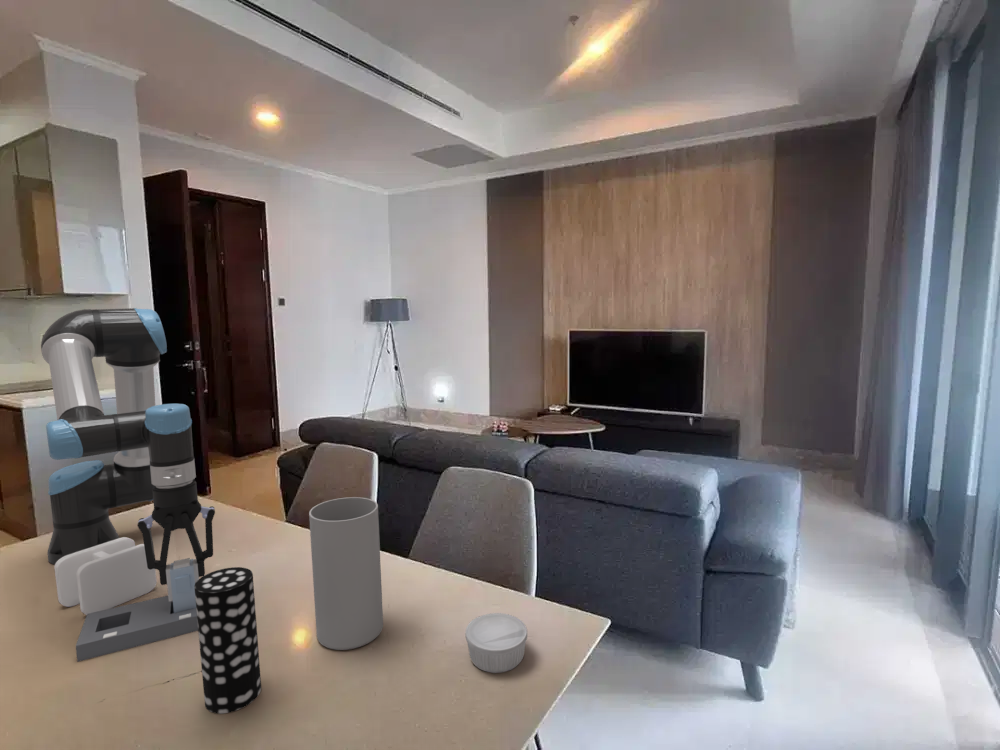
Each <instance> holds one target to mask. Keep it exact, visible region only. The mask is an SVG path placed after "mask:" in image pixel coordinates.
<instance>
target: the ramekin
mask: <svg viewBox="0 0 1000 750" xmlns="http://www.w3.org/2000/svg"><path fill="white" fill-rule="evenodd" d="M464 635H465V640H466V642H467V648H468V652H469V653H468V654H469V658H470V660H471V662H472V663H473V664H474V666H475V667H477V668H478V669H479V670H481V671H484V672H487V673H491V674H500V673H506V672H509V671H512V670H513V669H515V668H516V667H517V666H518V665H519V664H520V663H521V662H522V660H523V658H524V656H525V649H526V642H527V640H528V628H527V626H526V624H525V623H524V622H523V620H521V619H520V618H518V617H517V616H514V615H512V614H509V613H501V612H493V613H487V614H482V615H480V616H478V617H475V618H474V619H472V620H471V621H470V622H469V623H468V624H467V626H466V628H465V633H464Z"/></svg>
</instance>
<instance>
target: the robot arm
mask: <svg viewBox="0 0 1000 750" xmlns="http://www.w3.org/2000/svg"><path fill="white" fill-rule="evenodd" d="M40 343H41V344H40V349H41V350H40V351H41V357H42V358H43V360H44V361H45V362H46V363H47V364H48V365H49V371H50V378H51V385H52V386H51V387H52V392H53V398H54V406H55V412H56V419H57V420H54V421H53V420H52V421H49V422H48V423H47V424H46V425H45V428H46V429H45V430H46V437H47V439H46V440H47V445H48V447H47V448H48V454H49V457H50V458H51V459H53V460H55V461H56V460H57V461H58V460H69V459H80V458H85V457H91V456H92V457H93V456H99V455H103V454H110V453H116V452H117V453H116V454H114V456H113V463H111V464H110V463H109V464H105V463H104V462H103V461H102V460H99V459H94V460H86V461H81V462H78V463H77V462H76V463H75V464H74V463H73V464H70V465H68V466H64V467H61V468H60V469H57V470H56V471H54V472H53V473H52V474H51V475H50V476H49V477H48V492H47V493H48V494H47V495H49V499H50V511H51V518H52V519H51V520H52V526H53V527H52V528H53V531H52V534H51V538H50V542H49V544H48V547H47V548H48V549H47V560H48V563H50V564H52V565H55V564H56V562H57V561H58V560H59V559H60V558H62V557H64V556H66V555H69V554H72V553H75V552H78V551H81V550H84V549H87V548H90V547H93V546H97V545H100V544H103V543H106V542H109V541H112V540H115V539H118V538H120V535H119V533H118V532H117V530H116V529H115V526H114V525H113V523H112V521H111V519H110V516H109V509H113V508H119V507H124V506H129V505H134V504H139V503H143V502H153V510H152V512H151V514H150V515H148V516H146V517H141V518H139V519H138V521H137V528H138V529H139V531H140V533H141V534H142V539H143V544H144V547H145V554H146V561H147V567H148V569H150V570H151V569H155V570H156V571H158V572H159V573H158V574H159V583H160V585H161V586H165V585H167V586H166V587H167V596H168V599H169V601H173V598H172V587H171V577H170V568H171V563H170V564H169V563H167V561H168V555H169V549H170V542H171V541H170V540H171V535H172V532H174V531H176V530H180V529H181V530H183V529H185V531H186V534H187V536H188V539H189V543H190V545H191V548H192V551H193V553H194V557H195V558H192V559H193V567H194V578H195V583H196V582H197V580H199V579H200V578H201V577H203V576H205V575H206V568H205V560H206V559H209V558H211V557H213V556H214V543H213V542H214V541H213V540H214V539H213V519H214V517H215V514H216V509H215V507H214V506H209V507H208V506H202V504H201V503H200V502H199V498H198V496H199V495H198V488H197V481H196V480H195V478H197V475H196V463H195V456H194V446H193V445H194V444H193V443H194V442H193V431H192V424H193V420H192V419H193V418H191V412H190V411H191V410H190V407H189V406H188V405H186V404H184V403H163V404H158V405H156V394H155V393H156V392H155V391H156V390H155V389H156V388H155V374H154V373H155V371H154V367H155V366H157V365H158V364H159V363H160V362H161V357H160V356H161V355H164V354H165V353H167V352H168V349H167V347H168V346H167V339H166V335H165V330H164V327H163V324H162V321H161V318H160V315H159V314H158V313H157V311H155V310H153V309H149V308H137V307H136V308H135V307H133V308H103V309H102V308H101V309H100V308H99V309H97V308H96V309H91V308H90V309H89V308H88V309H85V308H84V309H79V310H78V309H77V310H74V311H71V312H69V313H66V314H65V315H63V316H61V317H59V318H58V319H57V320H55V321H54V322H53V323H52V324H50V326H49V327H48V328H47V329H46V330H45V333H44V334H43V336H42V338H41V342H40ZM93 358H105V359H104V360H105V363H106V364H107V365H108V366H109V367H111V368H112V369H113V378H114V390H115V402H116V403H115V404H116V413H113V414H105V412H104V408H103V404H102V400H101V394H100V391H99V386H98V382H97V378H96V373H95V369H94V365H93V364H94V363H93ZM200 513H201V516H202V518H203V519H204V522H205V523H204V524H205V525H204V526H205V544H206V545H205V548H206V549H205V550H202V549H203V548H202V546H201V544H200V540H199V538H198V534H197V531H196V529H195V526H194V525H195V524H194V522H195V520H196V519H197V517H198V516H199V514H200ZM153 521H154V522H155V523H157V524H158V525H159V526H160V527H161V528H163V536H162V541H161V542H162V544H161V550H160V556H159V559H156V555H155V549H154V548H155V547H154V542H153V535H152V530H151V529H152V528H153V525H154V523H153Z"/></svg>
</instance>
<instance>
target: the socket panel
mask: <svg viewBox="0 0 1000 750" xmlns="http://www.w3.org/2000/svg"><path fill="white" fill-rule="evenodd" d="M193 632H198V622H197V610H196V608H194V609H190V610H185V611H181V612H177V613H174V608H173V601H169V599H168V595H164V596H160V597H156V598H152V599H151V598H150V599H147V600H142V601H138V602H134V603H128V604H124V605H119V606H115V607H113V608H110V609H106V610H102V611H98V612H93V613H89V614H87V615H86V616H85V619H84V622H83V625H82V627H81V630H80V633H79V636H78V639H77V641H76V644H75V653H76V661H77V663H78V662H82V661H86V660H89V659H94V658H98V657H101V656H105V655H106V656H107V655H109V654H112V653H116V652H117V653H118V652H121V651H126V650H129V649H131V648H136V647H140V646H144V645H148V644H151V643H155V642H159V641H163V640H167V639H171V638H175V637H179V636H182V635H186V634H190V633H193Z"/></svg>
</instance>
